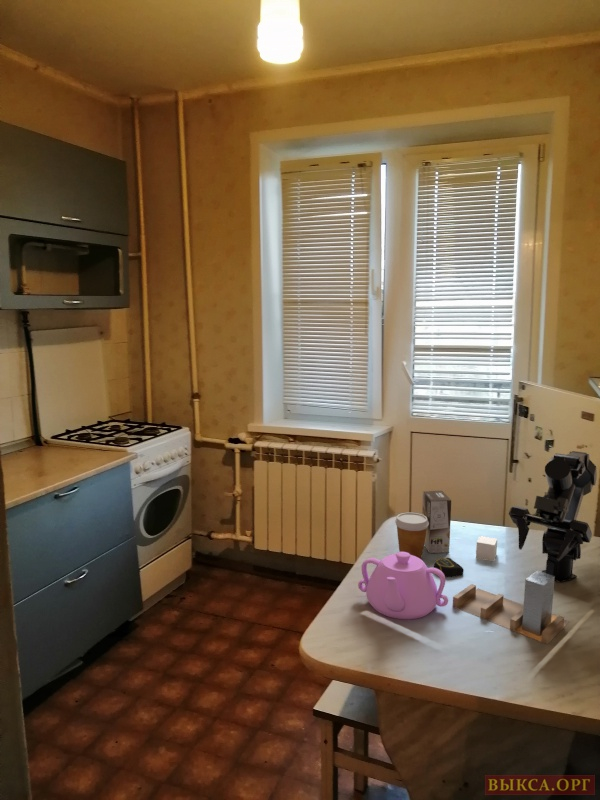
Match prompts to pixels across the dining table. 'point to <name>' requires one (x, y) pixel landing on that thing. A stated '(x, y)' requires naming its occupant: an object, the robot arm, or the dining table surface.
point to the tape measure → (448, 567)
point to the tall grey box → (538, 602)
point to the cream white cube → (486, 548)
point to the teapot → (402, 586)
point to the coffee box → (437, 521)
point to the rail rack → (502, 612)
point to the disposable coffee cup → (411, 533)
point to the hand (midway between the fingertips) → (538, 554)
